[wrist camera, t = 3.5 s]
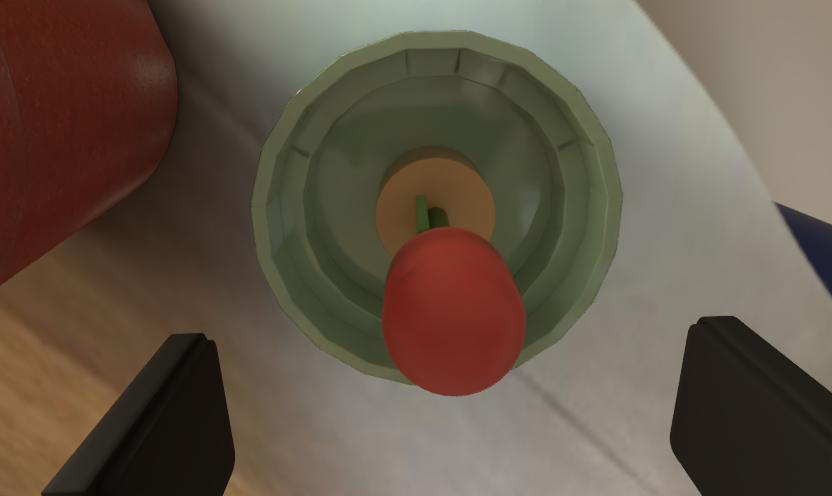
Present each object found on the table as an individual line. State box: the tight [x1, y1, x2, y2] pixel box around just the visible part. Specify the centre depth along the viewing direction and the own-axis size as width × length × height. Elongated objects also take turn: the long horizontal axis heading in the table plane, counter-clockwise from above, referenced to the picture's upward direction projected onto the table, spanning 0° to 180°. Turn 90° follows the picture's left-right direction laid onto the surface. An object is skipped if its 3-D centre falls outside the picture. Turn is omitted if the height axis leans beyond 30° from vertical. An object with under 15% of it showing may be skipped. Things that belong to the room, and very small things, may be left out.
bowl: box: [250, 30, 623, 386], centre depth 23 cm, size 14×14×5 cm
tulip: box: [375, 146, 526, 396], centre depth 18 cm, size 5×5×14 cm
